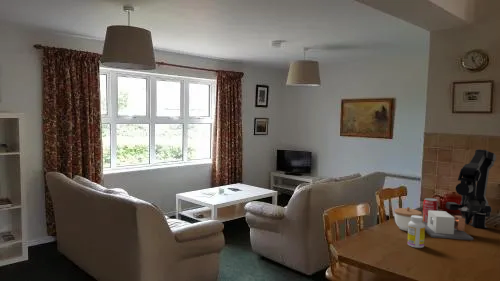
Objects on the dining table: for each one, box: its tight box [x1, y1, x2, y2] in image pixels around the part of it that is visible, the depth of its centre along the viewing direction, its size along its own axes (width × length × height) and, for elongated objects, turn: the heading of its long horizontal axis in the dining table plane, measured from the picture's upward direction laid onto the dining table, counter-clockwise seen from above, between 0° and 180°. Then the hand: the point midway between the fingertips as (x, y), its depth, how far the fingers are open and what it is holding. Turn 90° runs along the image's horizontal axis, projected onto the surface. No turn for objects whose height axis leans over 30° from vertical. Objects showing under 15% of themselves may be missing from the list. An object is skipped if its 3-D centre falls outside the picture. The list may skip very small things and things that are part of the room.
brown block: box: [431, 215, 466, 232], centre depth 178 cm, size 5×14×6 cm, turn 81°
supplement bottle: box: [407, 215, 426, 249], centre depth 158 cm, size 7×7×13 cm
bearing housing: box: [424, 210, 474, 241], centre depth 178 cm, size 20×18×9 cm
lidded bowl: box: [394, 206, 423, 232], centre depth 182 cm, size 13×13×11 cm
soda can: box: [422, 197, 439, 224], centre depth 193 cm, size 7×7×13 cm
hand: (467, 224), depth 177 cm, fingers closed
